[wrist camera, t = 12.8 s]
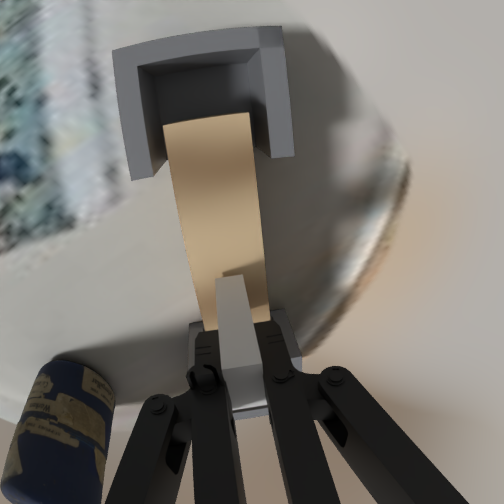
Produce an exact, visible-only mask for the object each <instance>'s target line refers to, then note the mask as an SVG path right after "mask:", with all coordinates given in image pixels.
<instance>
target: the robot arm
mask: <svg viewBox="0 0 504 504" xmlns="http://www.w3.org/2000/svg"><path fill="white" fill-rule="evenodd" d="M215 288H216V304H217V318H218V329H217V330H210V331H203V332H199V333H198V335H197V337H196V338H195V360H194V366H192V367H191V368H190V369H189V370H188V371H187V375H186V378H187V380H188V383H189V386H190V389H189V390H188V391H187V392H186V393H184V394H182V395H179V396H177V397H174V398H171V397H169V396H168V395H164V394H156V395H154V396H151V397H150V398H148V399H147V400H146V401H145V402H144V404H143V406H142V408H141V411H140V413H139V416H138V418H137V421H136V423H135V426H134V428H133V431H132V433H131V436H130V438H129V441H128V443H127V446H126V448H125V451H124V453H123V456H122V459H121V461H120V464H119V466H118V469H117V472H116V475H115V477H114V480H113V482H112V485H111V488H110V491H109V493H108V496H107V499H106V501H105V504H175V502H176V498H177V495H178V491H179V487H180V482H181V479H182V475H183V471H184V468H185V464H186V460H187V456H188V452H189V448H190V445H191V440H192V455H193V456H192V458H193V480H194V499H195V504H247V503H246V497H245V490H244V484H243V478H242V471H241V463H240V456H239V449H238V442H237V435H236V427H235V420H234V417H233V412H232V410H237V409H244V408H250V407H256V406H262V405H267V406H268V412H269V420H270V424H271V427H272V432H273V436H274V441H275V446H276V450H277V455H278V459H279V463H280V468H281V473H282V477H283V481H284V486H285V490H286V495H287V499H288V503H289V504H341V503H340V500H339V497H338V494H337V491H336V488H335V485H334V482H333V478H332V475H331V473H330V470H329V466H328V463H327V460H326V457H325V454H324V451H323V448H322V445H321V442H320V439H319V435H318V432H317V429H316V426H315V423H314V420H317V421H318V422H319V424H320V425H321V427H322V428H323V429H324V431H325V432H326V434H327V435H328V437H329V438H330V439H331V441H332V442H333V443H334V445H335V446H336V448H337V449H338V451H339V452H340V453H341V455H342V456H343V457H344V459H345V460H346V461H347V463H348V464H349V466H350V467H351V469H352V470H353V471H354V473H355V474H356V475H357V476H358V478H359V479H360V481H361V482H362V483H363V485H364V486H365V487H366V489H367V490H368V491H369V493H370V494H371V495H372V497H373V498H374V499H375V501H376V502H377V503H378V504H469V503H468V502H467V501H466V500H465V499H464V498H463V496H462V495H461V494H460V493H459V492H458V491H457V490H456V489H455V488H454V487H453V486H452V484H451V483H450V482H449V481H448V480H447V479H446V478H445V477H444V476H443V475H442V473H441V472H440V471H439V470H438V469H437V468H436V467H435V466H434V464H433V463H432V462H431V461H430V460H429V459H428V458H427V457H426V456H425V455H424V454H423V452H422V451H421V450H420V449H419V448H418V447H417V446H416V445H415V444H414V442H413V441H412V440H411V439H410V438H409V437H408V436H407V435H406V434H405V432H404V431H403V430H402V429H401V428H400V427H399V426H398V425H397V424H396V423H395V421H394V420H393V419H392V418H391V417H390V416H389V415H388V413H387V412H386V411H385V410H384V409H383V408H382V407H381V406H380V405H379V403H378V402H377V401H376V400H375V399H374V398H373V397H372V396H371V395H370V394H369V392H368V391H367V390H366V389H365V388H364V387H363V386H362V384H361V383H360V382H359V381H358V380H357V379H356V378H355V377H354V375H353V374H352V373H351V372H350V371H348V370H347V369H346V368H343V367H340V366H332V367H328V368H326V369H324V370H323V371H322V372H321V374H307V373H303V372H300V371H299V370H297V369H296V368H295V367H294V366H293V364H292V361H291V358H290V355H289V352H288V349H287V346H286V343H285V340H284V337H283V334H282V331H281V328H280V325H278V324H277V323H276V322H275V321H274V320H269V321H263V322H257V323H253V320H252V315H251V310H250V306H249V301H248V297H247V292H246V288H245V283H244V278H243V274H241V275H235V276H228V277H222V278H215Z"/></svg>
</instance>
